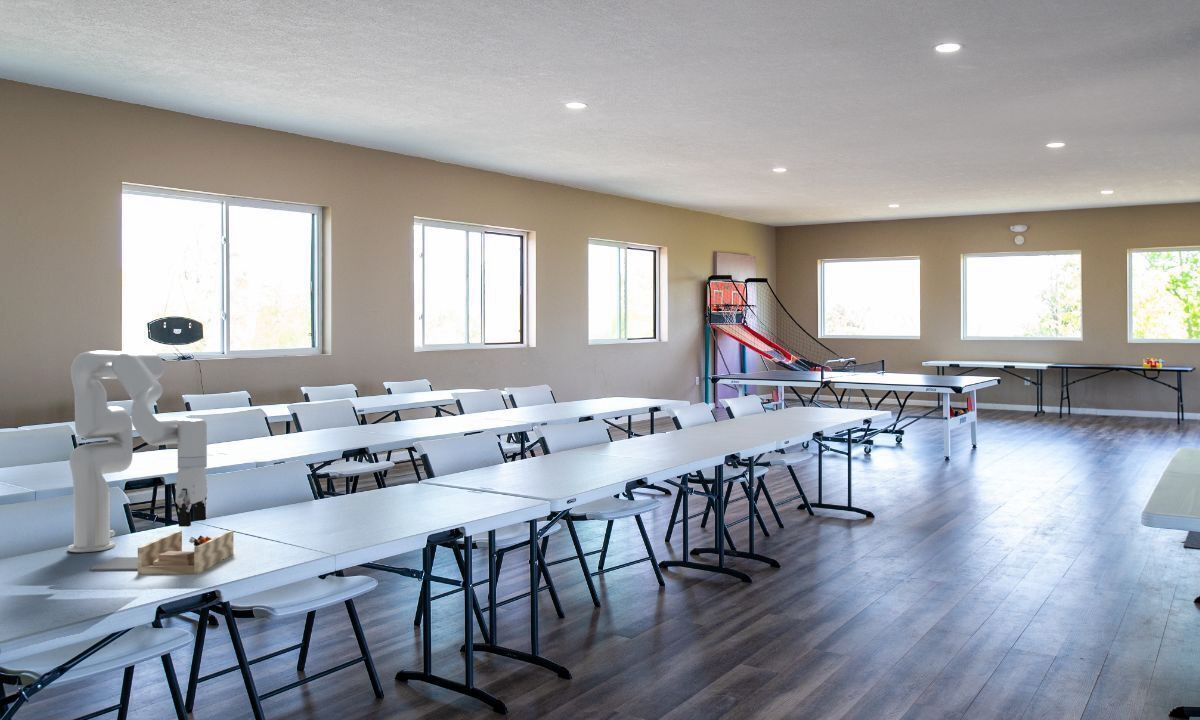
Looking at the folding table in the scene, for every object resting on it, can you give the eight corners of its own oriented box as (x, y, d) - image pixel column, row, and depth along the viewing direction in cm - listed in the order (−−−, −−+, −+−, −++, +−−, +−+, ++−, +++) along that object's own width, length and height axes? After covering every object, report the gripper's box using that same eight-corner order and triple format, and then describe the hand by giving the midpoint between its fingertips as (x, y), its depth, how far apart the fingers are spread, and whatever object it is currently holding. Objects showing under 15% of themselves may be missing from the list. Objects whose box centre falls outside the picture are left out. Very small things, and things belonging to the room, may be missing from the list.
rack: (178, 554, 264) (178, 530, 264) (233, 554, 265) (233, 530, 265) (137, 574, 240) (137, 547, 240) (198, 573, 241) (198, 547, 241)
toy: (196, 533, 256) (198, 524, 270) (183, 551, 255) (186, 541, 269) (222, 547, 259) (222, 537, 273) (209, 565, 258) (210, 554, 272)
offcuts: (162, 567, 248) (162, 551, 248) (198, 567, 248) (198, 551, 248) (151, 572, 242) (151, 555, 242) (189, 572, 242) (189, 555, 242)
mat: (116, 559, 258) (116, 557, 258) (165, 559, 258) (165, 557, 258) (89, 570, 244) (89, 568, 244) (141, 570, 244) (141, 568, 244)
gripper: (192, 459, 264) (192, 517, 264) (164, 466, 247) (164, 529, 247) (218, 459, 264) (218, 517, 264) (192, 466, 247) (192, 528, 247)
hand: (192, 523), depth 255 cm, fingers open, 9 cm apart
